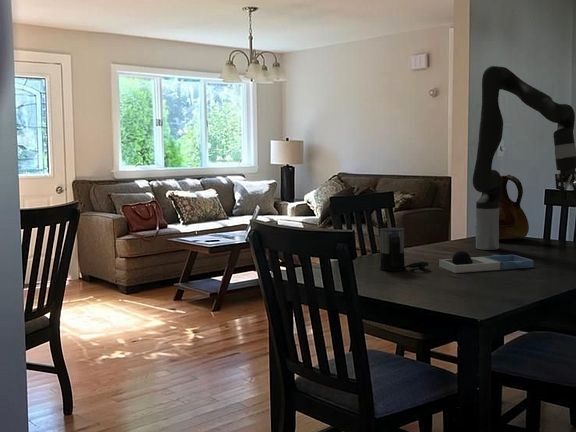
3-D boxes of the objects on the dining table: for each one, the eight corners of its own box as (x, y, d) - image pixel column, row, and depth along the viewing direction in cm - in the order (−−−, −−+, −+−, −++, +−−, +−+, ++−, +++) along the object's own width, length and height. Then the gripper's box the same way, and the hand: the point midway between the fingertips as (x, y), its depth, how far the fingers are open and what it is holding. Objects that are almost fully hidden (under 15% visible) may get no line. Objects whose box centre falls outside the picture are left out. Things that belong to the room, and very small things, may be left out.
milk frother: (375, 268, 241) (374, 228, 239) (413, 264, 245) (413, 225, 244) (392, 274, 227) (392, 232, 225) (433, 270, 232) (432, 229, 230)
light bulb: (478, 259, 227) (454, 247, 233) (470, 276, 228) (446, 263, 234) (485, 260, 232) (461, 248, 238) (477, 276, 233) (453, 264, 239)
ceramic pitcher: (492, 235, 314) (492, 173, 311) (535, 238, 301) (535, 173, 298) (475, 241, 299) (475, 175, 296) (519, 244, 286) (520, 175, 283)
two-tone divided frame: (436, 265, 241) (436, 258, 241) (510, 260, 247) (510, 253, 247) (457, 273, 225) (457, 266, 225) (536, 268, 231) (536, 260, 231)
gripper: (567, 157, 253) (572, 199, 253) (546, 159, 245) (551, 202, 245) (585, 154, 247) (590, 197, 247) (564, 156, 239) (570, 200, 239)
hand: (571, 199), depth 246 cm, fingers open, 8 cm apart
